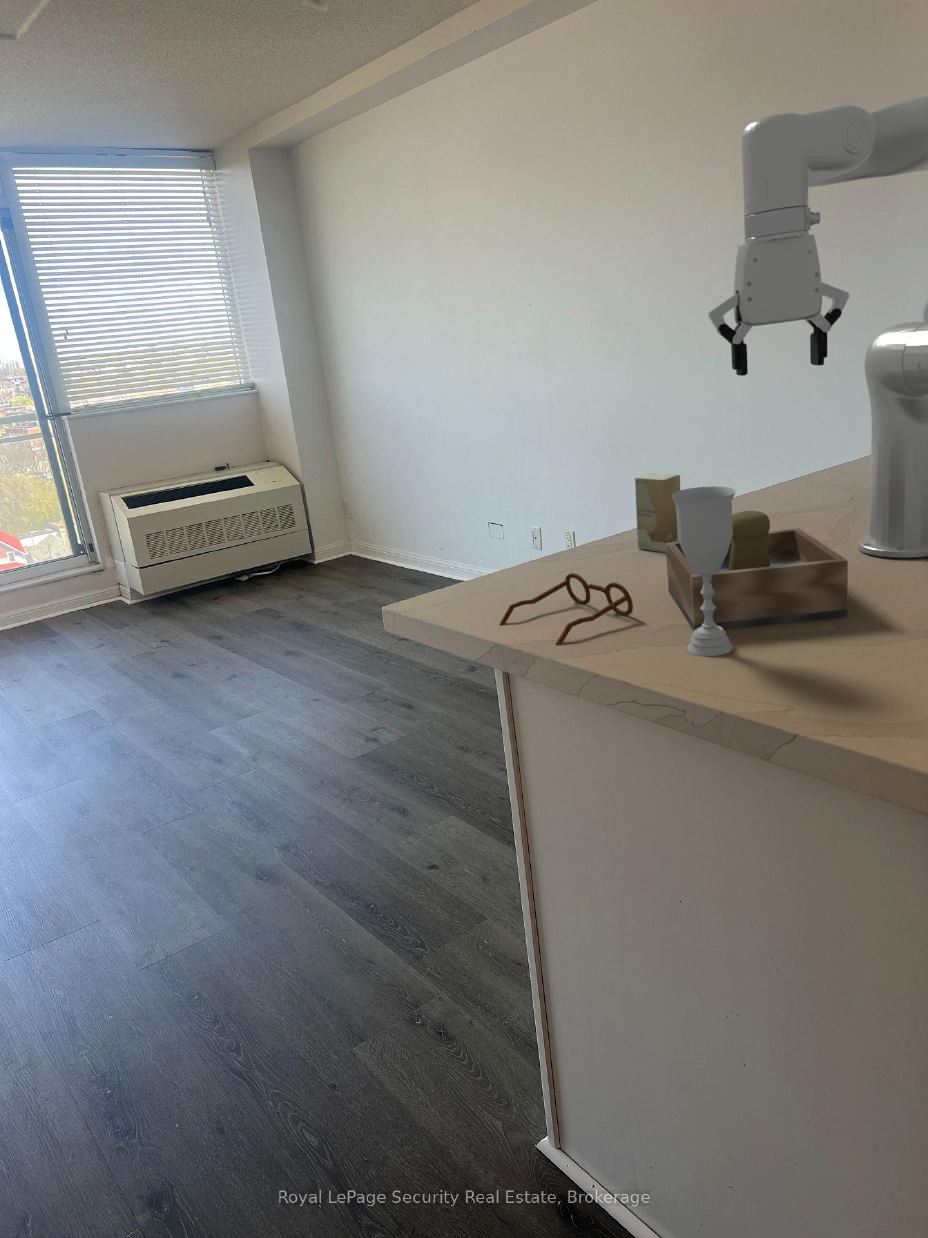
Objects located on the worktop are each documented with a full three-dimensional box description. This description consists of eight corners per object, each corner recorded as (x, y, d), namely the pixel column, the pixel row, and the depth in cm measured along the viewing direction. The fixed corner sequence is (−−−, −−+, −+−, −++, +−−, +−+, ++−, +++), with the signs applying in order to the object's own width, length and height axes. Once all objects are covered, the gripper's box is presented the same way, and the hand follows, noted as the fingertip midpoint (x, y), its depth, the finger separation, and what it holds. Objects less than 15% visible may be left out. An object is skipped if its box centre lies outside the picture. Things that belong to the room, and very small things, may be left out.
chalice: (671, 642, 104) (662, 492, 99) (727, 633, 104) (721, 483, 99) (691, 663, 97) (683, 502, 92) (751, 654, 97) (746, 493, 92)
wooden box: (799, 577, 122) (799, 528, 120) (847, 617, 105) (847, 560, 103) (668, 591, 123) (665, 542, 121) (694, 632, 106) (691, 577, 104)
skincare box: (637, 549, 148) (632, 477, 144) (653, 543, 150) (648, 472, 147) (668, 553, 143) (664, 478, 139) (684, 546, 146) (680, 473, 142)
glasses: (636, 620, 115) (633, 583, 113) (557, 648, 108) (554, 610, 107) (572, 603, 125) (569, 569, 124) (497, 627, 119) (493, 592, 118)
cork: (777, 601, 110) (776, 515, 107) (727, 604, 112) (724, 519, 108) (771, 587, 116) (770, 505, 112) (723, 590, 117) (721, 509, 114)
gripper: (836, 221, 112) (836, 360, 117) (699, 241, 113) (705, 377, 119) (859, 213, 105) (858, 361, 110) (712, 235, 106) (718, 380, 112)
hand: (779, 369), depth 114 cm, fingers open, 9 cm apart
